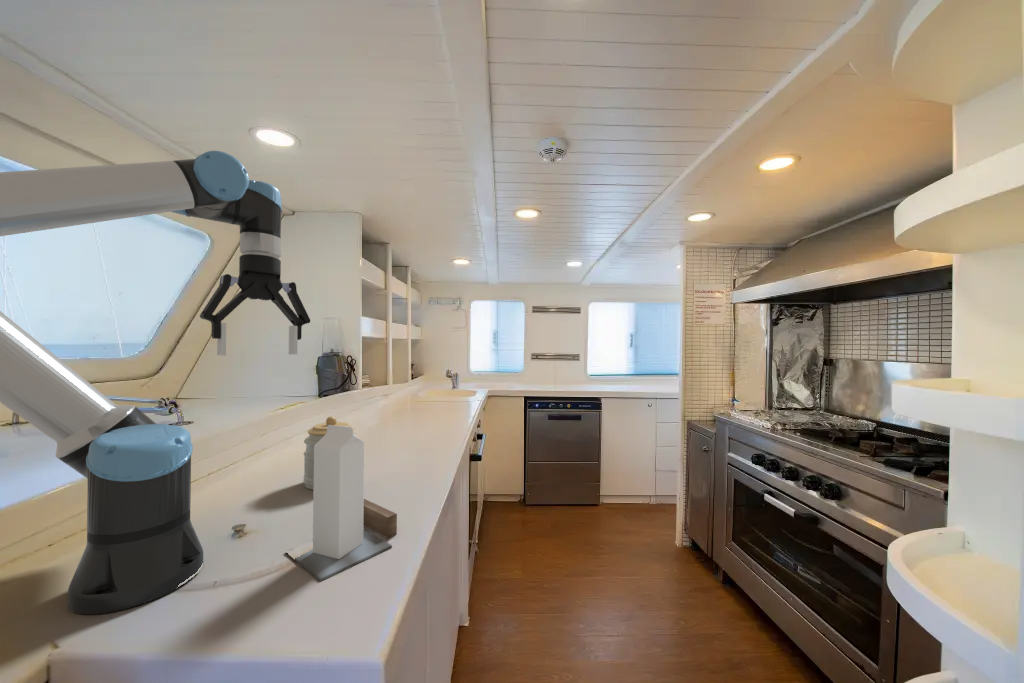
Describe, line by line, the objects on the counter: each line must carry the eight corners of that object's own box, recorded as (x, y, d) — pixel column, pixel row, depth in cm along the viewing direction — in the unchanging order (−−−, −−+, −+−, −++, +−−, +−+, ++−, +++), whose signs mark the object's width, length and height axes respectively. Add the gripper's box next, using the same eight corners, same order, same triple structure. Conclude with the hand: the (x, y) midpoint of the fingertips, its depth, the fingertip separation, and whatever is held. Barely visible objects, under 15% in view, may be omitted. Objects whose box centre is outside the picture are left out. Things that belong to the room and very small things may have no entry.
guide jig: (320, 581, 61) (320, 555, 61) (258, 531, 77) (258, 511, 77) (407, 539, 74) (407, 518, 74) (339, 504, 90) (339, 487, 90)
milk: (339, 560, 66) (339, 431, 66) (312, 553, 68) (312, 428, 68) (364, 542, 72) (365, 424, 72) (338, 536, 74) (339, 421, 74)
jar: (355, 471, 113) (355, 411, 113) (358, 486, 101) (358, 418, 101) (304, 478, 107) (305, 414, 107) (301, 494, 96) (302, 422, 96)
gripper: (311, 267, 96) (310, 353, 96) (181, 247, 76) (180, 355, 76) (326, 264, 91) (325, 354, 91) (192, 241, 72) (190, 356, 72)
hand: (259, 355), depth 84 cm, fingers open, 13 cm apart
